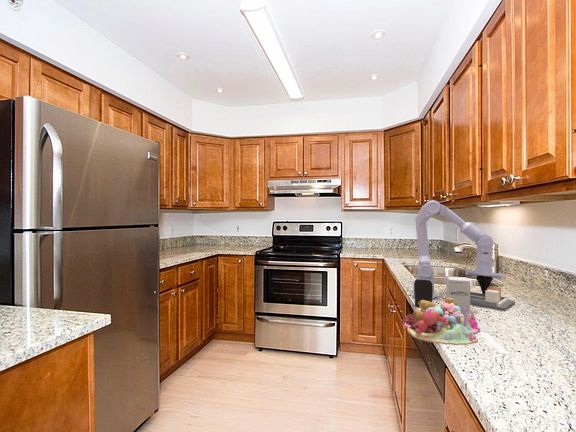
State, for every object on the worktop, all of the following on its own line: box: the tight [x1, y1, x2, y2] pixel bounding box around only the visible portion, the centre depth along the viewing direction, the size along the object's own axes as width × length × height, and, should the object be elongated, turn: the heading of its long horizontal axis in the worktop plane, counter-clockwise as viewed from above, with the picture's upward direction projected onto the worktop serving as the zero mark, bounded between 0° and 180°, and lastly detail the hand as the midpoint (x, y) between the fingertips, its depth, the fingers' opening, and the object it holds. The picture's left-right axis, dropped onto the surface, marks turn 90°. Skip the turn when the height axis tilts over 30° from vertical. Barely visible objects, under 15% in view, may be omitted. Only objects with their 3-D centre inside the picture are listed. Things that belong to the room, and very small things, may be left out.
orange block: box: [487, 286, 502, 300], centre depth 131 cm, size 4×4×5 cm
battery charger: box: [413, 277, 434, 308], centre depth 127 cm, size 7×4×11 cm, turn 66°
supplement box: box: [445, 275, 471, 314], centre depth 121 cm, size 7×7×13 cm
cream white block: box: [485, 289, 500, 303], centre depth 126 cm, size 4×4×5 cm
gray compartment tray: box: [470, 291, 516, 312], centre depth 132 cm, size 15×19×2 cm
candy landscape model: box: [400, 297, 481, 346], centre depth 101 cm, size 25×24×9 cm
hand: (484, 293), depth 134 cm, fingers closed
